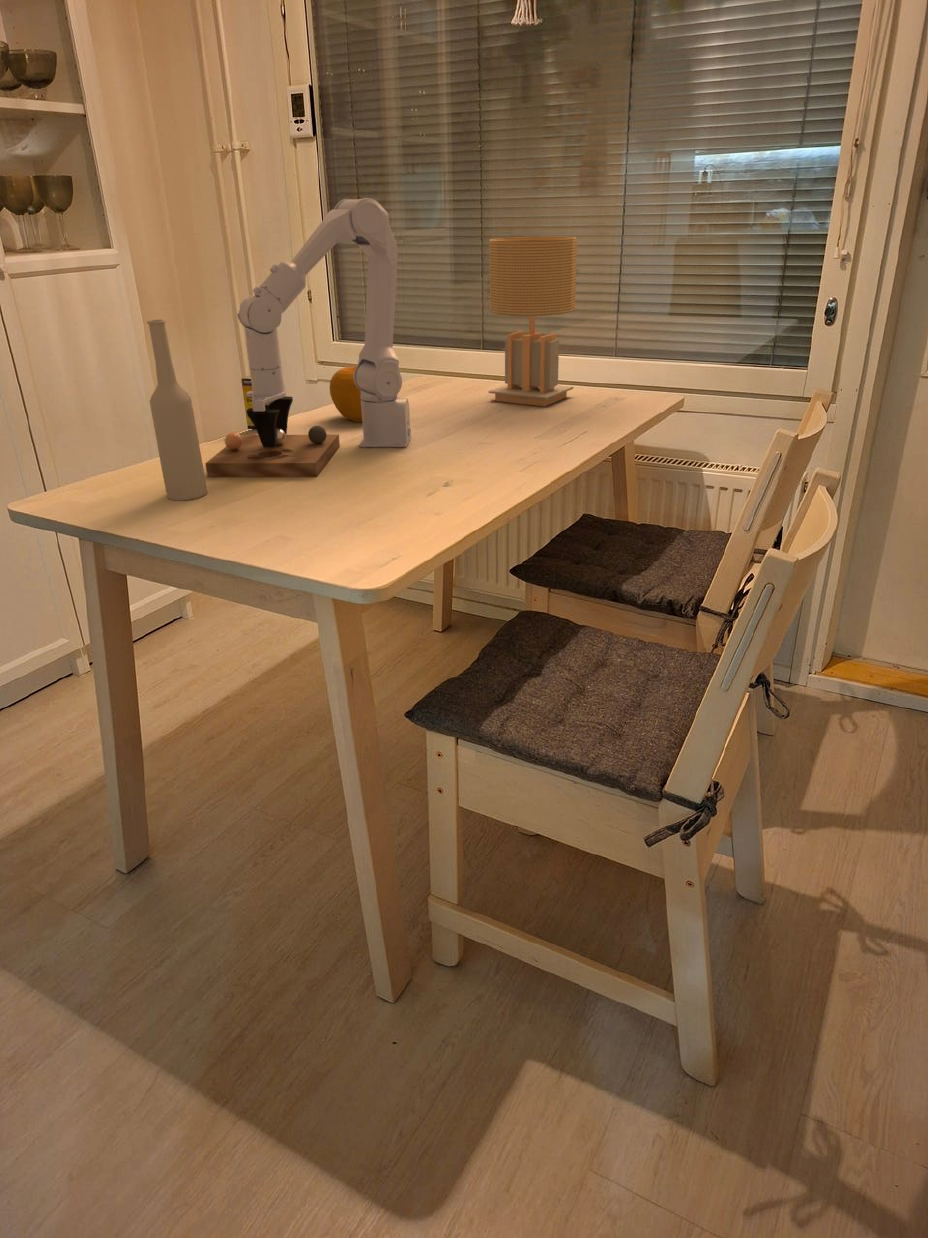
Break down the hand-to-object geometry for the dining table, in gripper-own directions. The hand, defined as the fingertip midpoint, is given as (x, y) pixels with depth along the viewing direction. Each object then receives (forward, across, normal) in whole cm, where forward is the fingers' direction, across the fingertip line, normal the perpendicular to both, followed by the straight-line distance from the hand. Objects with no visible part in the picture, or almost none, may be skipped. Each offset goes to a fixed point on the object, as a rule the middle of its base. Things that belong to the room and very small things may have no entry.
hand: (274, 441), depth 158 cm
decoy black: (-1, -3, +8) cm, 8 cm away
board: (+4, 0, 0) cm, 4 cm away
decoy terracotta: (0, +1, -8) cm, 8 cm away
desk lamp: (+4, -53, +48) cm, 71 cm away
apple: (+4, -34, +10) cm, 35 cm away
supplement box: (+4, -27, -10) cm, 29 cm away
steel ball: (0, -2, 0) cm, 2 cm away
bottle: (+4, +20, -10) cm, 23 cm away
